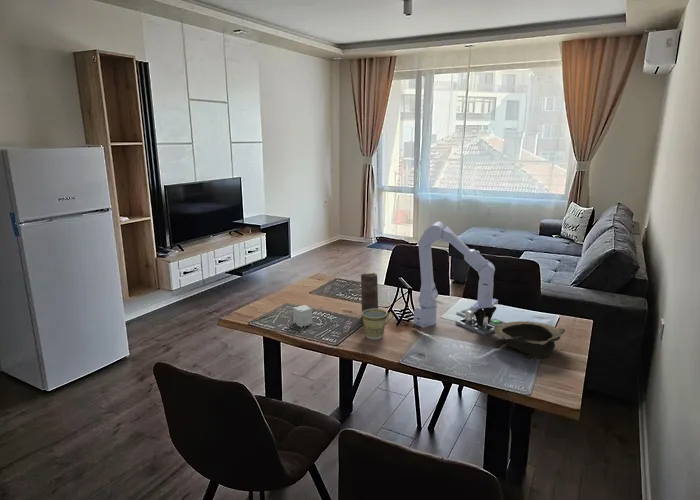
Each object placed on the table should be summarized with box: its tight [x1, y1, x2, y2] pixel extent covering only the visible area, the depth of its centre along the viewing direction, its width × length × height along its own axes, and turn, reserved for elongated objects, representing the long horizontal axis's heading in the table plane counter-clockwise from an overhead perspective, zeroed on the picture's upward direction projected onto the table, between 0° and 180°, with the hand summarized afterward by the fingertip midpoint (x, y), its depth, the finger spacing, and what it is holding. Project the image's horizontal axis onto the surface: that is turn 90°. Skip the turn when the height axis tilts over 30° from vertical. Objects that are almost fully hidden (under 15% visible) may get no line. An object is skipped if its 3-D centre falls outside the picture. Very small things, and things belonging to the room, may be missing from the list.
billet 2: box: [477, 315, 488, 331], centre depth 186 cm, size 4×4×6 cm
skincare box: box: [292, 304, 314, 328], centre depth 196 cm, size 6×6×7 cm
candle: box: [360, 272, 379, 313], centre depth 202 cm, size 8×7×20 cm
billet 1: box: [464, 310, 475, 325], centre depth 191 cm, size 4×4×6 cm
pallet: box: [455, 317, 495, 337], centre depth 189 cm, size 8×15×2 cm, turn 36°
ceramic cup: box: [361, 308, 394, 341], centre depth 184 cm, size 13×10×10 cm
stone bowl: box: [493, 320, 566, 359], centre depth 172 cm, size 25×25×9 cm
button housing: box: [489, 317, 507, 326], centre depth 192 cm, size 6×6×2 cm
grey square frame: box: [456, 306, 476, 319], centre depth 203 cm, size 10×10×2 cm
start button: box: [491, 319, 501, 325], centre depth 192 cm, size 3×3×2 cm
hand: (483, 324), depth 186 cm, fingers closed on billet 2, 4 cm apart
